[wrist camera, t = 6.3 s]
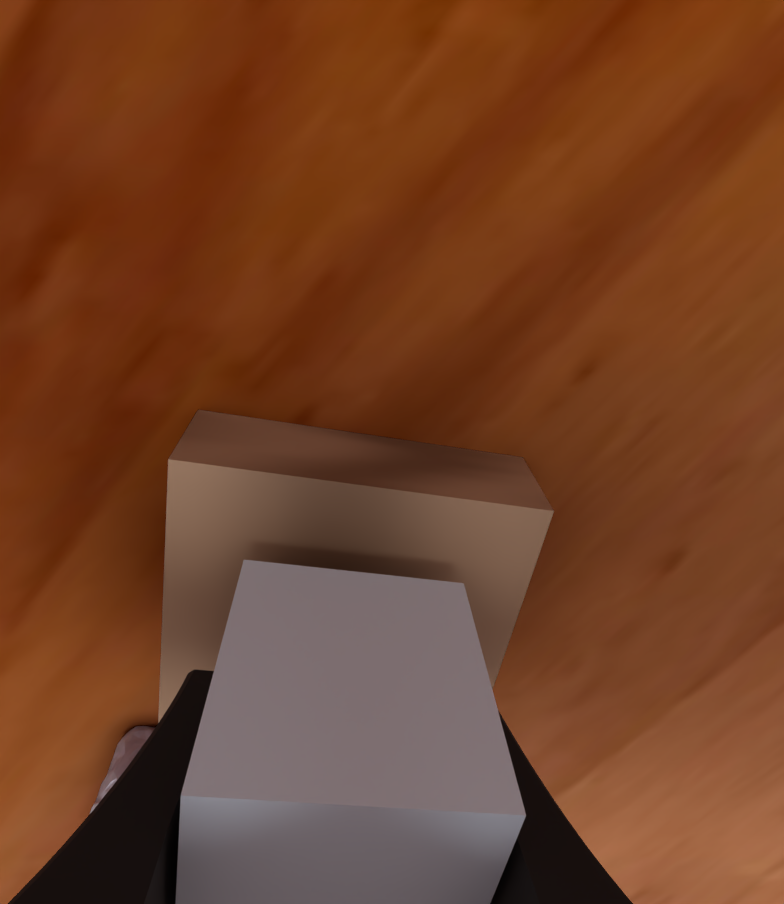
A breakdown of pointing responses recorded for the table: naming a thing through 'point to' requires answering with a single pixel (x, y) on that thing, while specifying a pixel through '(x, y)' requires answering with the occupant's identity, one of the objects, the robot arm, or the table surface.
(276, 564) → the light grey block
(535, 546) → the tan square block
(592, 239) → the table surface
